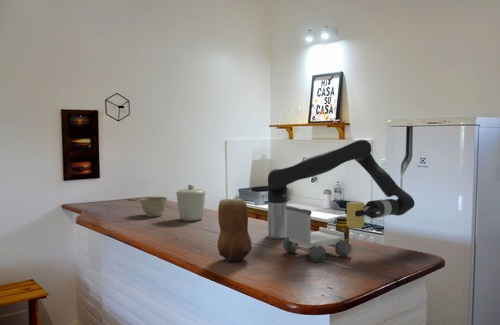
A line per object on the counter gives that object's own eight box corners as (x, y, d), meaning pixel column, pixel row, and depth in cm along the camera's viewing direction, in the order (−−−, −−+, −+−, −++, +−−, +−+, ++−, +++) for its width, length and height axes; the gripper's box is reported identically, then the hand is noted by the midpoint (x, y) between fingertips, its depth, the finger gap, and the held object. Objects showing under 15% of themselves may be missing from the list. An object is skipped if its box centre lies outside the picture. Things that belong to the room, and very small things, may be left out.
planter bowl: (172, 214, 274) (172, 197, 273) (154, 219, 260) (154, 201, 260) (154, 212, 282) (153, 195, 282) (135, 216, 269) (135, 199, 268)
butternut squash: (233, 253, 182) (232, 194, 181) (258, 259, 174) (257, 197, 172) (210, 261, 172) (209, 198, 170) (235, 267, 163) (234, 201, 162)
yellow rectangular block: (355, 228, 178) (355, 204, 177) (346, 226, 182) (346, 202, 181) (364, 226, 180) (364, 202, 180) (354, 224, 185) (355, 201, 184)
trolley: (312, 264, 167) (312, 211, 166) (281, 253, 183) (281, 205, 182) (350, 255, 179) (351, 206, 177) (318, 245, 195) (319, 200, 193)
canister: (172, 218, 262) (171, 183, 261) (201, 215, 270) (200, 182, 268) (180, 223, 246) (180, 186, 244) (210, 221, 253) (210, 185, 252)
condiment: (347, 246, 194) (347, 219, 193) (329, 244, 198) (329, 218, 197) (351, 242, 200) (352, 217, 199) (334, 240, 204) (334, 215, 204)
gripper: (365, 198, 194) (338, 201, 185) (392, 202, 182) (364, 206, 173) (365, 214, 195) (338, 219, 185) (391, 219, 183) (364, 224, 173)
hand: (350, 212), depth 179 cm, fingers closed on yellow rectangular block, 5 cm apart
